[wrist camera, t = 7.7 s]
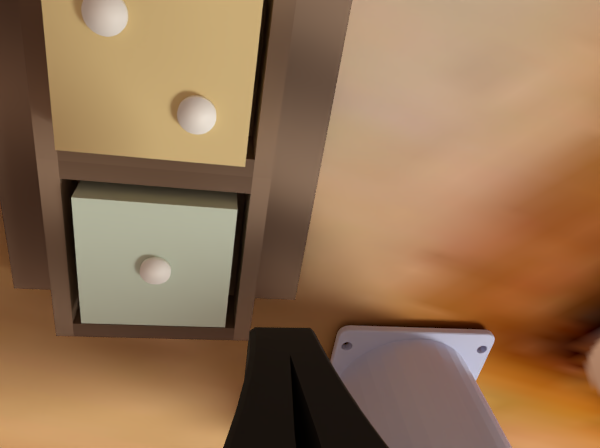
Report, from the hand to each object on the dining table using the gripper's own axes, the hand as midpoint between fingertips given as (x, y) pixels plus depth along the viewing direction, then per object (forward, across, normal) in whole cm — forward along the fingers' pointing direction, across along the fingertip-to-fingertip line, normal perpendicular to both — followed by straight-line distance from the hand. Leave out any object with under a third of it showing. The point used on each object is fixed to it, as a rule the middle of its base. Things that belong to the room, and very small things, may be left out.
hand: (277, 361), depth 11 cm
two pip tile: (+7, +3, -5) cm, 9 cm away
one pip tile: (+8, +3, +2) cm, 9 cm away
